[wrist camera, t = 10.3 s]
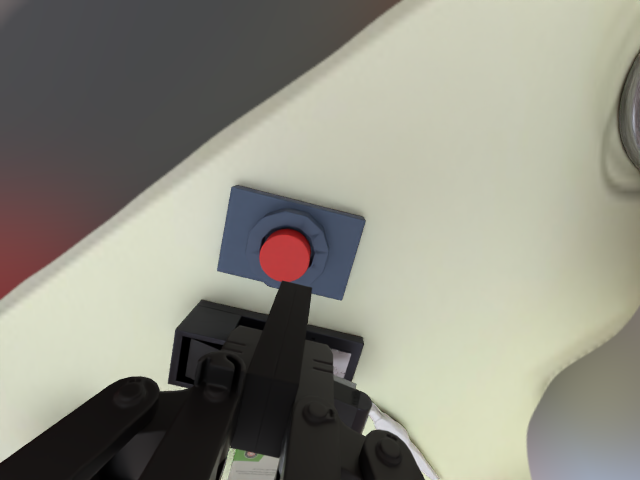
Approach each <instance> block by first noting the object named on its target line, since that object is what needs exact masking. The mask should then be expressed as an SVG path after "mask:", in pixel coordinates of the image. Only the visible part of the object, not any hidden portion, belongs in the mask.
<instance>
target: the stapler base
mask: <svg viewBox="0 0 640 480" xmlns="http://www.w3.org/2000/svg"><path fill="white" fill-rule="evenodd" d="M268 316H269V315H265V314H260V313H256V312H252V311H247V310H243V309H239V308H235V307H230V306H226V305H222V304H217V303H213V302H209V301H205V300H201V301H200V302H199V303H198V304H197V305H196V306H195V308H194V309H193V310H192V311H191V312H190V313H189V314H188V316H187V317H186V318H185V319H184V320H183V321H182V323H181V324H180V325H179V326H178V327H177V328H176V330H175V336H174V343H173V350H172V357H171V364H170V371H169V378H168V384H172V385H176V386H181V387H186V388H191V387H193V385H194V380H193V379H191V378H188V377H186V376H185V373H186V367H187V361H188V354H189V348H190V342H191V338H193V339H198V340H202V341H207V342H211V343H215V344H220V345H223V344H224V342H225V341H226V339H227V337H228V335H229V334H230V332H231V331H232V330H234V329H235V328H237V327H238V326H240V325H241V326H245V327H249V328H254V329H258V330H262V331H263V329H264V326H265V323H266V321H267V318H268ZM305 340H309V341H313V342H317V343H322V344H326V345H328V346H329V348H330V349H331V351H332V353H333V374H334V375H336V376H338V377H341V378H343V379H346V380H348V381H351V382H352V379H353V376H354V373H355V370H356V367H357V364H358V361H359V358H360V355H361V352H362V349H363V346H364V341H363V338H362V337H359V336H354V335H350V334H346V333H342V332H337V331H333V330H329V329H324V328H320V327H316V326H312V325H307V330H306V338H305Z"/></svg>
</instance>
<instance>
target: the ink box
mask: <svg viewBox="0 0 640 480" xmlns="http://www.w3.org/2000/svg"><path fill="white" fill-rule="evenodd" d="M279 458H280V457H279ZM279 458H275V457H270V456H266V455H261V454H257V453H252V452H248V451H243V450H239V449H236V452H235V455H234V459H233V462H232V465H231V469H230V472H229V476H228V479H227V480H274V478H275V474H276V471H277V467H278V463H279Z"/></svg>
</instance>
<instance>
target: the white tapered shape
mask: <svg viewBox="0 0 640 480" xmlns="http://www.w3.org/2000/svg"><path fill="white" fill-rule="evenodd" d="M369 416H370V417H371V418H372V420H373V422H374V425H375V428H376V429H377V430H378V429H380V430H386V431H389V432H391V433H393V434H395V435H397V436H398V437H399V438H400V439H401V440H402V441H404V442H405V444H406V445H407V446H408V448H409V449H410V451H411V453H412V455H413V457H414V459H415V461H416V463H417V465H418V467H419V469H420V470H421V471H422V472H423V473H424V474H426V475H427V476H428V477H429V478H431V479H432V480H440V478H439V477H438V476H437V474H436V473H435V471H434V470H433V468H432V467H431V466H430V464H429V463H428V462H427V461H426V460H425V458H424V456H423V455H422V454H421V452H420V451H419V450H418V448H417V447H416V446H415V445H414V444H413V443H412V442H411V441H410V439H409V436H408V432H407V430H406V429H405V428H404V427H403V426H402V425H400V424H399V423H398V422H397V421H396V420H393V419H392V418H391V417H390V416H388V415H387V414H386V413H382V412H381V411H380V410H379V409H378V407H377V406H376V405H375V404H374V403H372V407H371V410H370V413H369Z"/></svg>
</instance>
